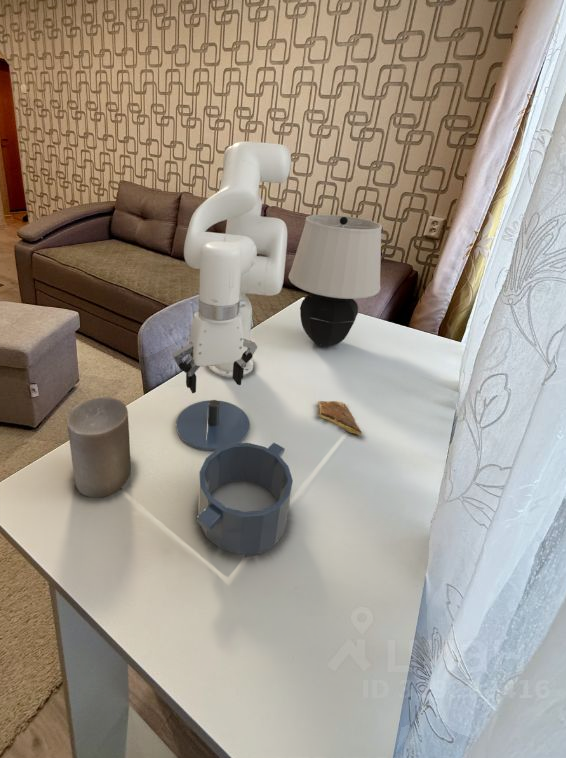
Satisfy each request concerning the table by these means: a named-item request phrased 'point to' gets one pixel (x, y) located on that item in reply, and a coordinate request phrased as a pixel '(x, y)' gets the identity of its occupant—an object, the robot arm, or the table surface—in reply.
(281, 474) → the pot
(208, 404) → the lid
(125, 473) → the pillar candle
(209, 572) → the table surface
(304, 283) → the table lamp
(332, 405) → the cake slice
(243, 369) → the robot arm
